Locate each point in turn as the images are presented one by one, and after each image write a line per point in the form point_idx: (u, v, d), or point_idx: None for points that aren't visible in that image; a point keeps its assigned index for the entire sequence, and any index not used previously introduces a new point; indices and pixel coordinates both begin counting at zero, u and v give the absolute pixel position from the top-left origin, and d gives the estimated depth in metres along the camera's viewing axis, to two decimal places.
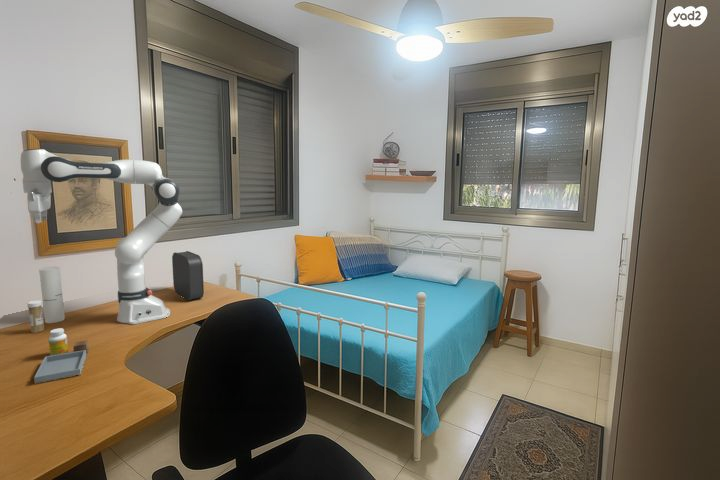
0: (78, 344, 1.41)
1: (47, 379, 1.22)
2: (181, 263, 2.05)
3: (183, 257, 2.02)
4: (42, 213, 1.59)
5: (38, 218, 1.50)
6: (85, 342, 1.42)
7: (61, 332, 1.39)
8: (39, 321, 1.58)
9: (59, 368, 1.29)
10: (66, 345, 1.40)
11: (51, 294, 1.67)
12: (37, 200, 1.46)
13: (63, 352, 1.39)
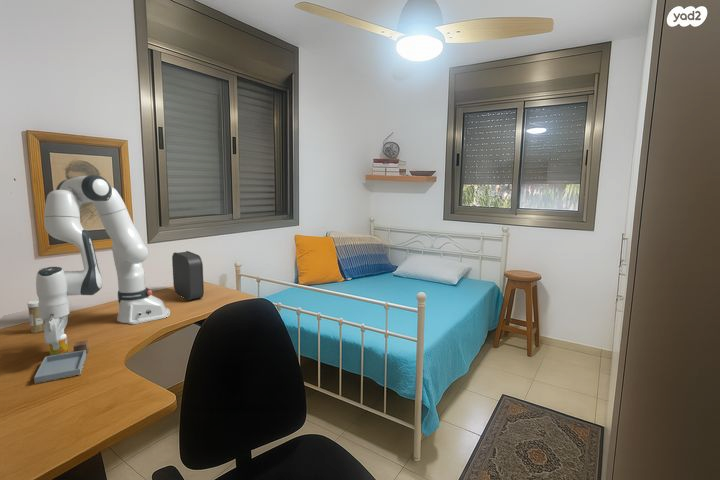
0: (78, 344, 1.41)
1: (47, 379, 1.22)
2: (181, 263, 2.05)
3: (183, 257, 2.02)
4: None
5: (56, 345, 1.36)
6: (85, 342, 1.42)
7: None
8: (39, 321, 1.58)
9: (59, 368, 1.29)
10: (66, 345, 1.40)
11: None
12: (55, 330, 1.31)
13: (63, 352, 1.39)
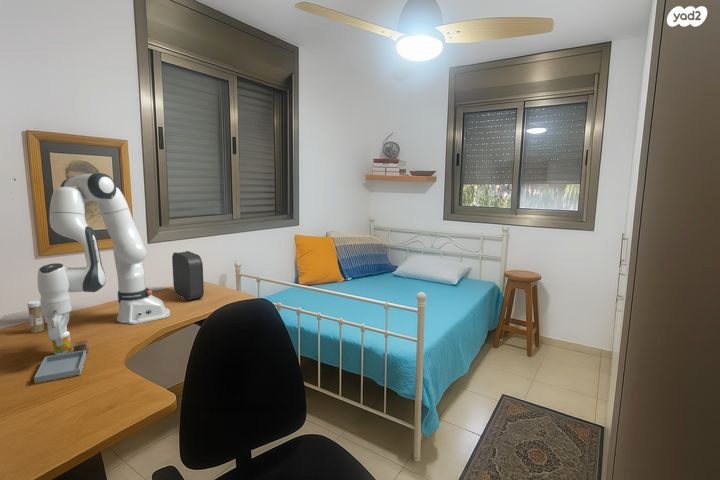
0: (78, 344, 1.41)
1: (47, 379, 1.22)
2: (181, 263, 2.05)
3: (183, 257, 2.02)
4: None
5: (59, 341, 1.36)
6: (85, 342, 1.42)
7: None
8: (39, 321, 1.58)
9: (59, 368, 1.29)
10: (69, 342, 1.41)
11: None
12: (58, 326, 1.31)
13: (66, 349, 1.39)
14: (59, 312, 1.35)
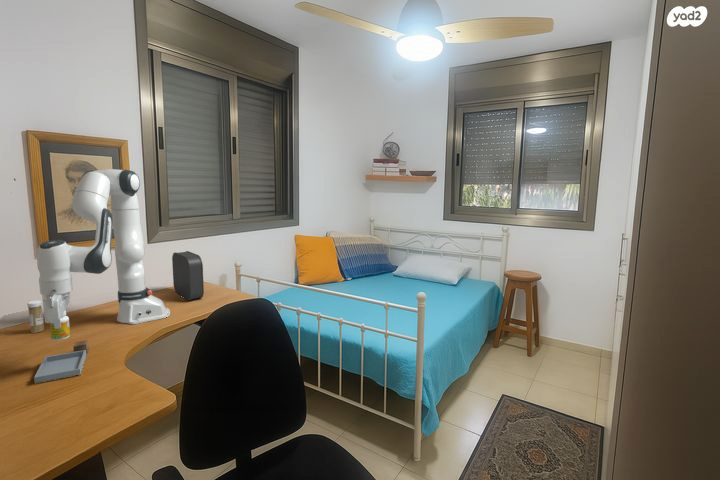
0: (78, 344, 1.41)
1: (47, 379, 1.22)
2: (181, 263, 2.05)
3: (183, 257, 2.02)
4: None
5: (58, 323, 1.27)
6: (85, 342, 1.42)
7: (63, 314, 1.30)
8: (39, 321, 1.58)
9: (59, 368, 1.29)
10: (68, 328, 1.32)
11: None
12: (56, 306, 1.22)
13: (65, 335, 1.30)
14: (58, 292, 1.26)
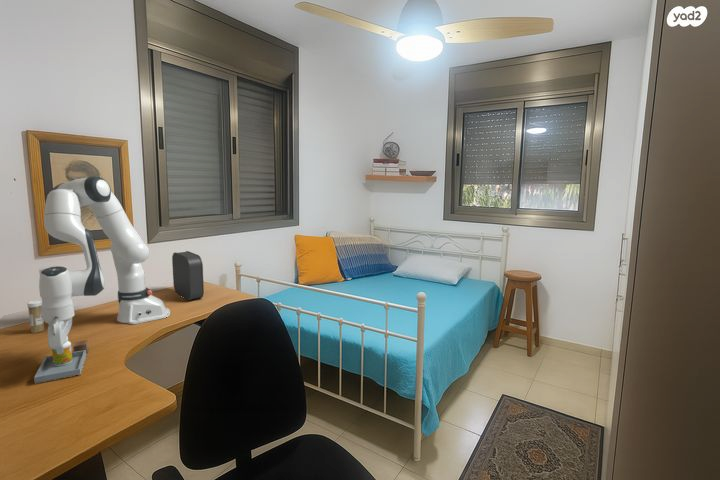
0: (78, 344, 1.41)
1: (47, 379, 1.22)
2: (181, 263, 2.05)
3: (183, 257, 2.02)
4: None
5: (60, 349, 1.29)
6: (85, 342, 1.42)
7: (65, 339, 1.31)
8: (39, 321, 1.58)
9: (59, 368, 1.29)
10: (70, 353, 1.33)
11: None
12: (59, 333, 1.23)
13: (67, 360, 1.32)
14: (60, 318, 1.27)
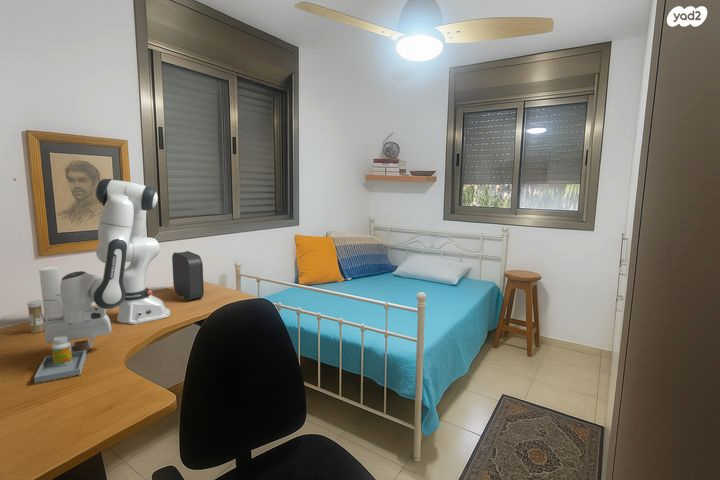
0: (78, 344, 1.40)
1: (47, 379, 1.22)
2: (181, 263, 2.05)
3: (183, 257, 2.02)
4: (91, 339, 1.43)
5: None
6: (85, 342, 1.42)
7: (65, 339, 1.31)
8: (39, 321, 1.58)
9: (59, 368, 1.29)
10: (70, 353, 1.33)
11: (51, 294, 1.67)
12: (45, 331, 1.34)
13: (67, 360, 1.32)
14: (63, 319, 1.37)
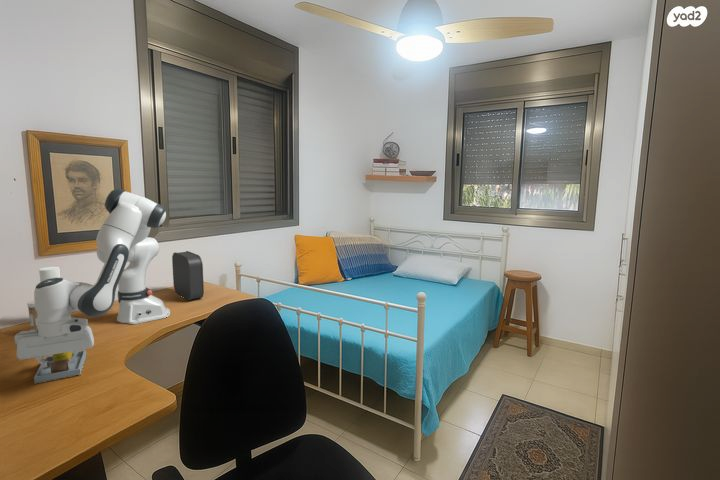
0: (56, 364, 1.25)
1: (47, 379, 1.22)
2: (181, 263, 2.05)
3: (183, 257, 2.02)
4: None
5: None
6: (64, 361, 1.26)
7: None
8: None
9: None
10: (70, 353, 1.33)
11: None
12: (17, 346, 1.18)
13: None
14: (38, 332, 1.20)
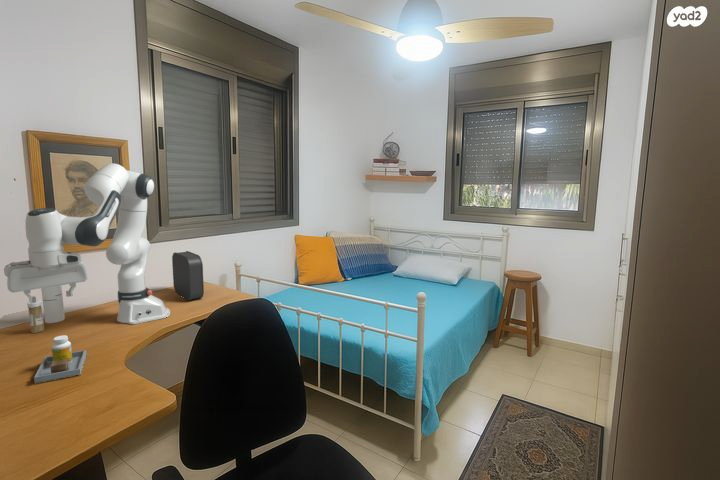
0: (56, 364, 1.25)
1: (47, 379, 1.22)
2: (181, 263, 2.05)
3: (183, 257, 2.02)
4: (70, 287, 1.26)
5: (28, 297, 1.17)
6: (64, 361, 1.26)
7: (65, 339, 1.31)
8: (39, 321, 1.58)
9: None
10: (70, 353, 1.33)
11: (51, 294, 1.67)
12: (9, 277, 1.12)
13: None
14: (31, 263, 1.16)
